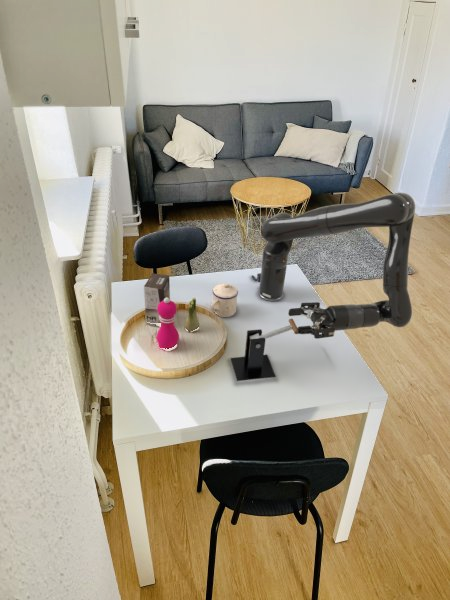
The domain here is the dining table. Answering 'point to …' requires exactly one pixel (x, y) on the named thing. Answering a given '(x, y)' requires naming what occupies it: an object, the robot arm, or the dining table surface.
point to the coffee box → (155, 296)
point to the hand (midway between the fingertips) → (293, 321)
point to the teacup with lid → (224, 299)
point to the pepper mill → (167, 324)
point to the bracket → (253, 360)
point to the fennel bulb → (192, 317)
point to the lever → (277, 331)
